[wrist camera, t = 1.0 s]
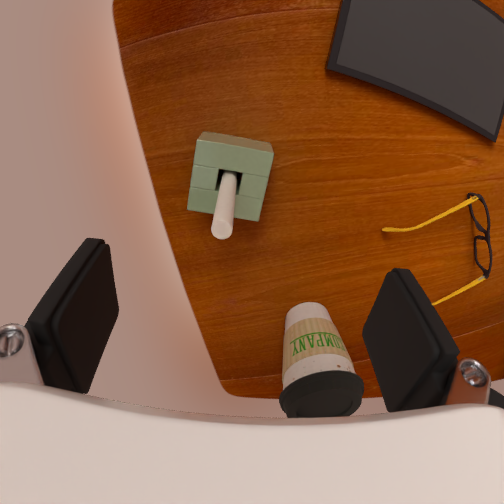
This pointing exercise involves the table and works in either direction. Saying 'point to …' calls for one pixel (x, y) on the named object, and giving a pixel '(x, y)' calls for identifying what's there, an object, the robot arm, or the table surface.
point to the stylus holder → (234, 159)
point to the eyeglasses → (480, 228)
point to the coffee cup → (317, 367)
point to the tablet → (427, 55)
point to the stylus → (225, 206)
